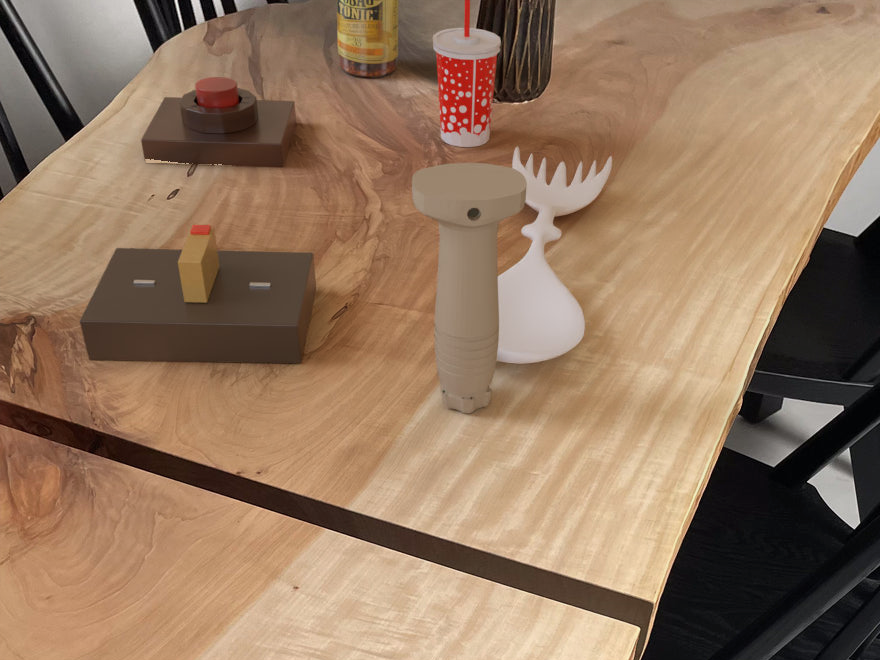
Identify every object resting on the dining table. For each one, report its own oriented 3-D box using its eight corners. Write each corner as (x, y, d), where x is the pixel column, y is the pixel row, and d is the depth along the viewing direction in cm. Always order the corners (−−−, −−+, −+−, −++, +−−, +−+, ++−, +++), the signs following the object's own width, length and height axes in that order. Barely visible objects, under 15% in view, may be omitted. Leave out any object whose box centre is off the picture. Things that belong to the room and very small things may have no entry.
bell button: (194, 110, 96) (191, 90, 95) (201, 95, 99) (199, 76, 98) (236, 112, 97) (233, 92, 96) (242, 96, 99) (240, 77, 98)
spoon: (612, 189, 97) (616, 151, 94) (574, 393, 72) (579, 349, 70) (511, 178, 97) (512, 140, 95) (440, 377, 73) (440, 332, 71)
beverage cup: (488, 122, 107) (493, -33, 97) (504, 148, 102) (511, -13, 93) (426, 126, 105) (425, -32, 96) (440, 152, 101) (440, -11, 92)
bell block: (145, 164, 96) (136, 119, 94) (168, 120, 104) (161, 77, 101) (283, 168, 97) (279, 123, 94) (296, 124, 104) (292, 81, 102)
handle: (412, 382, 73) (408, 164, 63) (509, 378, 74) (519, 162, 64) (418, 425, 69) (415, 201, 59) (519, 420, 70) (532, 198, 60)
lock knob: (207, 302, 73) (200, 258, 71) (184, 302, 73) (176, 258, 71) (219, 266, 77) (213, 223, 75) (198, 265, 77) (191, 223, 75)
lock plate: (88, 360, 73) (78, 318, 71) (123, 284, 81) (115, 245, 78) (301, 363, 74) (297, 323, 72) (316, 289, 81) (313, 250, 79)
